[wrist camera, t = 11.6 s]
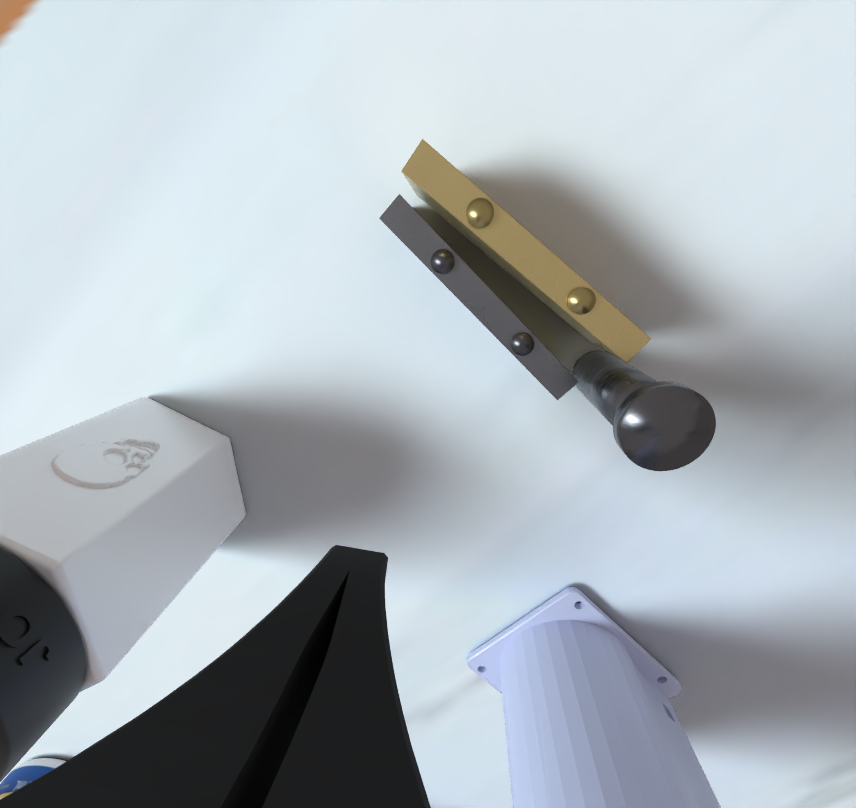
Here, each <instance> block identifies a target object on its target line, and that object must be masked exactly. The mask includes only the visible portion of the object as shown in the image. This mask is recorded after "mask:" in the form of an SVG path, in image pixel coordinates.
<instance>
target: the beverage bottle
mask: <svg viewBox="0 0 856 808" xmlns="http://www.w3.org/2000/svg"><path fill="white" fill-rule="evenodd" d="M65 762H66V761H64V760H60V759H53V758H38V759H32V760H29V761H26V762H24V763H22V764H20V765H19V766H17V767H16V768H15V769H14V770H13V771H11V773H10V774H9V775H8V776H7V777H6V778H5V779H4V780H3V782H2V783H1V784H0V799H2V798H4V797H6V796H7V795H9V794H11V793H13V792H14V791H16V790H18V789H20V788H21V787H23V786H25V785H27V784H29V783H30V782H32V781H34V780H36V779H37V778H39V777H41V776H43V775H44V774H46V773H48V772H50V771H51V770H53V769H55V768H56V767H58V766H60V765H61V764H63V763H65Z"/></svg>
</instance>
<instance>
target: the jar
mask: <svg viewBox="0 0 856 808" xmlns="http://www.w3.org/2000/svg"><path fill="white" fill-rule="evenodd" d="M245 515H246V512H245V507H244V503H243V498H242V493H241V489H240V484H239V479H238V475H237V470H236V465H235V461H234V456H233V451H232V446H231V442H230V439H229V438H228V437H227V436H225V435H223V434H221V433H219V432H217V431H215V430H213V429H210V428H208V427H206V426H204V425H202V424H200V423H198V422H196V421H194V420H192V419H190V418H188V417H186V416H184V415H182V414H180V413H178V412H176V411H174V410H172V409H170V408H168V407H166V406H164V405H162V404H160V403H158V402H156V401H154V400H152V399H150V398H147V397H141V398H139V399H136V400H134V401H132V402H129V403H127V404H124V405H122V406H119V407H117V408H115V409H112V410H110V411H107V412H105V413H102V414H100V415H98V416H95V417H93V418H90V419H88V420H85V421H83V422H81V423H78V424H76V425H73V426H71V427H68V428H66V429H64V430H61V431H59V432H56V433H54V434H51V435H49V436H47V437H44V438H42V439H39V440H37V441H34V442H32V443H30V444H27V445H25V446H22V447H20V448H17V449H15V450H13V451H10V452H8V453H5V454H3V455H0V782H1V781H2V780H3V778H4V777H5V776H6V775H7V774H8V773H9V772H10V771H11V770H12V768H13V767H14V766H15V765H16V764H17V763H18V762H19V761H20V759H21V758H22V757H23V756H24V755H25V754H26V753H27V752H28V750H29V749H30V748H31V747H32V746H33V745H34V744H35V743H36V742H37V740H38V739H39V738H40V737H41V736H42V735H43V734H44V733H45V731H46V730H47V729H48V728H49V727H50V726H51V725H52V724H53V723H54V721H55V720H56V719H57V718H58V717H59V716H60V715H61V714H62V712H63V711H64V710H65V709H66V708H67V707H68V706H69V705H70V703H71V702H72V701H73V700H74V699H75V698H76V696H77V695H78V693H79V692H81V691H83V690H85V689H87V688H89V687H91V686H93V685H95V684H97V683H99V682H101V681H103V680H104V679H105V678H106V677H107V676H108V675H109V674H110V673H111V672H112V670H113V669H114V668H115V667H116V666H117V665H118V663H119V662H120V661H121V660H122V659H123V658H124V656H125V655H126V654H127V653H128V652H129V651H130V650H131V648H132V647H133V646H134V645H135V644H136V643H137V641H138V640H139V639H140V638H141V637H142V636H143V634H144V633H145V632H146V631H147V630H148V629H149V628H150V626H151V625H152V624H153V623H154V622H155V621H156V619H157V618H158V617H159V616H160V615H161V614H162V612H163V611H164V610H165V609H166V608H167V607H168V605H169V604H170V603H171V602H172V601H173V600H174V599H175V597H176V596H177V595H178V594H179V593H180V592H181V590H182V589H183V588H184V587H185V586H186V585H187V583H188V582H189V581H190V580H191V579H192V578H193V577H194V575H195V574H196V573H197V572H198V571H199V570H200V568H201V567H202V566H203V565H204V564H205V563H206V561H207V560H208V559H209V558H210V557H211V556H212V555H213V553H214V552H215V551H216V550H217V549H218V548H219V546H220V545H221V544H222V543H223V542H224V541H225V539H226V538H227V537H228V536H229V535H230V534H231V533H232V531H233V530H234V529H235V528H236V527H237V526H238V524H239V523H240V522H241V521H242V520H243V519H244V517H245Z"/></svg>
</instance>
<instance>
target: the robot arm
mask: <svg viewBox="0 0 856 808" xmlns="http://www.w3.org/2000/svg"><path fill="white" fill-rule="evenodd" d="M387 562H388V557H387V556H386V555H385V554H384V553H380V552H374V551H368V550H362V549H356V548H350V547H344V546H339V545H335V546H334V547H332V548H331V549H330V550H329V552H328V553H327V554H326V555H325V556H324V557H323V559H322V560H321V561H320V562H319V563H318V564H317V565H316V567H315V568H314V569H313V570H312V571H311V572H310V573H309V574H308V575H307V576H306V577H305V578H304V579H303V581H302V582H301V583H300V584H299V585H298V586H297V587H296V588H295V589H294V590H293V591H292V592H291V593H290V594H289V595H288V596H287V597H286V598H285V599H284V600H283V601H282V602H281V603H280V604H279V605H278V606H277V607H275V608H274V609H273V610H272V611H271V612H270V613H269V614H268V615H267V616H266V617H265V618H264V619H262V620H261V621H260V622H259V623H258V624H257V625H256V626H255V627H254V628H252V629H251V630H250V631H249V632H248V633H247V634H246V635H245V636H243V637H242V638H241V639H240V640H239V641H238V642H236V643H235V644H234V645H233V646H232V647H230V648H229V649H228V650H227V651H226V652H224V653H223V654H222V655H221V656H219V657H218V658H217V659H216V660H214V661H213V662H212V663H211V664H209V665H208V666H207V667H205V668H204V669H203V670H202V671H200V672H199V673H198V674H196V675H195V676H194V677H192V678H191V679H190V680H188V681H187V682H185V683H184V684H183V685H181V686H180V687H179V688H177V689H176V690H174V691H173V692H172V693H170V694H169V695H168V696H166V697H165V698H163V699H162V700H161V701H159V702H158V703H156V704H155V705H153V706H152V707H151V708H149V709H148V710H146V711H145V712H143V713H142V714H140V715H139V716H137V717H136V718H134V719H133V720H131V721H130V722H128V723H127V724H125V725H123V726H122V727H120V728H119V729H117V730H115V731H114V732H112V733H111V734H109V735H108V736H106V737H104V738H103V739H101V740H100V741H98V742H97V743H95V744H93V745H92V746H90V747H89V748H87V749H86V750H84V751H82V752H81V753H79V754H78V755H76V756H74V757H73V758H71V759H70V760H68V761H66V762H65V763H63V764H61V765H60V766H58V767H56V768H55V769H53V770H51V771H50V772H48V773H46V774H44V775H43V776H41V777H39V778H37V779H36V780H34V781H32V782H30V783H29V784H27V785H25V786H23V787H21V788H20V789H18V790H16V791H14V792H13V793H11V794H9V795H7V796H6V797H4V798H2V799H0V808H431V807H430V804H429V801H428V798H427V795H426V791H425V788H424V785H423V782H422V778H421V775H420V772H419V769H418V765H417V762H416V759H415V756H414V752H413V749H412V746H411V742H410V738H409V734H408V731H407V727H406V723H405V719H404V715H403V711H402V707H401V702H400V698H399V694H398V689H397V684H396V679H395V674H394V669H393V663H392V657H391V651H390V645H389V637H388V629H387V619H386V609H385V577H386V569H387ZM578 601H580V602H581V603H576V602H578ZM467 665H468V667H469V668H470V669H472V670H473V671H474V672H475V673H477V674H478V675H479V676H480V677H482V678H483V679H484V680H485V681H486V682H488V683H489V684H490V685H491V686H493V687H494V688H495V689H496V690H498V691H499V692H500V693H501V694H502V698H503V709H504V719H505V730H506V741H507V751H508V762H509V773H510V783H511V794H512V805H513V808H721V807H720V805H719V803H718V801H717V799H716V796H715V794H714V792H713V790H712V788H711V786H710V784H709V782H708V780H707V778H706V775H705V773H704V771H703V769H702V767H701V765H700V763H699V761H698V759H697V757H696V755H695V752H694V750H693V748H692V746H691V744H690V742H689V740H688V738H687V736H686V734H685V732H684V729H683V727H682V725H681V723H680V721H679V719H678V717H677V715H676V713H675V711H674V708H673V706H672V704H671V702H670V700H669V699H671V698H673V697H675V696H677V695H678V694H680V693H681V691H682V686H681V684H680V682H679V681H678V680H677V679H676V678H675V677H674V676H673V675H672V674H671V673H670V672H669V671H668V670H666V669H665V668H664V667H663V666H662V665H661V664H660V663H659V662H658V661H657V660H655V659H654V658H653V657H652V656H651V655H650V654H649V653H648V652H647V651H646V650H645V649H643V648H642V647H641V646H640V645H639V644H638V643H637V642H636V641H635V640H634V639H632V638H631V637H630V636H629V635H628V634H627V633H626V632H625V631H624V630H623V629H622V628H620V627H619V626H618V625H617V624H616V623H615V622H614V621H613V620H612V619H611V618H609V617H608V616H607V615H606V614H605V613H604V612H603V611H602V610H601V609H600V608H599V607H597V606H596V605H595V604H594V603H593V602H592V601H591V600H590V599H589V598H588V597H586V596H585V595H584V594H583V593H582V592H581V591H580V590H579V589H577V588H574V587H568V588H566V589H564V590H563V591H561V592H560V593H559V594H557V595H556V596H554V597H553V598H551V599H550V600H548V601H547V602H545V603H544V604H542V605H541V606H539V607H538V608H536V609H535V610H533V611H532V612H530V613H529V614H528V615H526V616H525V617H523V618H522V619H520V620H519V621H517V622H516V623H514V624H513V625H511V626H510V627H508V628H507V629H505V630H504V631H502V632H501V633H500V634H498V635H497V636H495V637H494V638H492V639H491V640H489V641H488V642H486V643H485V644H483V645H482V646H480V647H479V648H477V649H476V650H474V651H473V652H472V653H470V654H469V655H468V656H467Z"/></svg>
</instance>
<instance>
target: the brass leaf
mask: <svg viewBox="0 0 856 808" xmlns="http://www.w3.org/2000/svg"><path fill="white" fill-rule="evenodd" d="M402 173H403V174H404V176H405V178H406V179H407V181H408V182H409V184H410V185H411V187H412V188H413V190H414V191H415V193H416V195H417V196H418V197H419V198H420V199H421V200H423V201H424V202H425V203H426V204H427V205H429V206H430V207H431V208H432V209H433V210H434V211H436V212H437V213H438V214H439V215H440V216H441V217H443V218H444V219H445V220H446V221H447V222H449V223H450V224H451V225H452V226H453V227H454V228H456V229H457V230H458V231H459V232H460V233H462V234H463V235H464V236H465V237H466V238H467V239H469V240H470V241H471V242H472V243H473V244H475V245H476V246H477V247H478V248H479V249H480V250H482V251H483V252H484V253H485V254H486V255H488V256H489V257H490V258H491V259H492V260H493V261H495V262H496V263H497V264H498V265H499V266H501V267H502V268H503V269H504V270H505V271H506V272H508V273H509V274H510V275H511V276H512V277H513V278H515V279H516V280H517V281H518V282H519V283H521V284H522V285H523V286H524V287H525V288H526V289H528V290H529V291H530V292H531V293H532V294H534V295H535V296H536V297H537V298H538V299H539V300H541V301H542V302H543V303H544V304H545V305H547V306H548V307H549V308H550V309H551V310H552V311H554V312H555V313H556V314H557V315H558V316H560V317H561V318H562V319H563V320H564V321H565V322H567V323H568V324H569V325H570V326H571V327H573V328H574V329H575V330H576V331H577V332H578V333H580V334H581V335H582V336H583V337H584V338H585V339H587V340H589V341H590V342H592V343H594V344H595V345H597V346H599V347H600V348H602V349H604V350H605V351H607V352H609V353H610V354H612V355H614V356H615V357H617V358H619V359H621V360H622V361H624V362H626V363H628V362H629V361H630V360H631V358H632V357H633V356H634V355H635V354H636V353H637V352H638V351H639V350H640V349H641V348H642V347H643V346H644V345H645V344H646V343H647V342H648V341H649V340H650V339H651V338H650V337H649V336H647V335H646V334H645V333H644V332H643V331H642V330H641V329H639V328H638V327H637V326H636V325H635V324H634V323H633V322H631V321H630V320H629V319H628V318H627V317H626V316H625V315H623V314H622V313H621V312H620V311H619V310H618V309H617V308H615V307H614V306H613V305H612V304H611V303H610V302H609V301H607V300H606V299H605V298H604V297H603V296H602V295H601V294H599V293H598V292H597V291H596V290H595V289H594V288H593V287H591V286H590V285H589V284H588V283H587V282H586V281H585V280H583V279H582V278H581V277H580V276H579V275H578V274H577V273H575V272H574V271H573V270H572V269H571V268H570V267H569V266H567V265H566V264H565V263H564V262H563V261H562V260H560V259H559V258H558V257H557V256H556V255H555V254H554V253H552V252H551V251H550V250H549V249H548V248H547V247H546V246H544V245H543V244H542V243H541V242H540V241H539V240H538V239H536V238H535V237H534V236H533V235H532V234H531V233H530V232H528V231H527V230H526V229H525V228H524V227H523V226H522V225H520V224H519V223H518V222H517V221H516V220H515V219H514V218H512V217H511V216H510V215H509V214H508V213H507V212H506V211H504V210H503V209H502V208H501V207H500V206H499V205H498V204H496V203H495V202H494V201H493V200H492V199H491V198H490V197H488V196H487V195H486V194H485V193H484V192H483V191H482V190H480V189H479V188H478V187H477V186H476V185H475V184H474V183H472V182H471V181H470V180H469V179H468V178H467V177H466V176H464V175H463V174H462V173H461V172H460V171H459V170H457V169H456V168H455V167H454V166H453V165H452V164H451V163H449V162H448V161H447V160H446V159H445V158H444V157H443V156H441V155H440V154H439V153H438V152H437V151H436V150H435V149H433V148H432V147H431V146H430V145H429V144H428V143H427V142H425V141H424V140H423V139H422V141H421V142H420V144H419V145H418V147H417V148H416V150H415V151H414V153H413V154H412V156H411V157H410V159H409V160H408V162H407V164H406V165H405V167H404V168H403V170H402Z"/></svg>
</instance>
